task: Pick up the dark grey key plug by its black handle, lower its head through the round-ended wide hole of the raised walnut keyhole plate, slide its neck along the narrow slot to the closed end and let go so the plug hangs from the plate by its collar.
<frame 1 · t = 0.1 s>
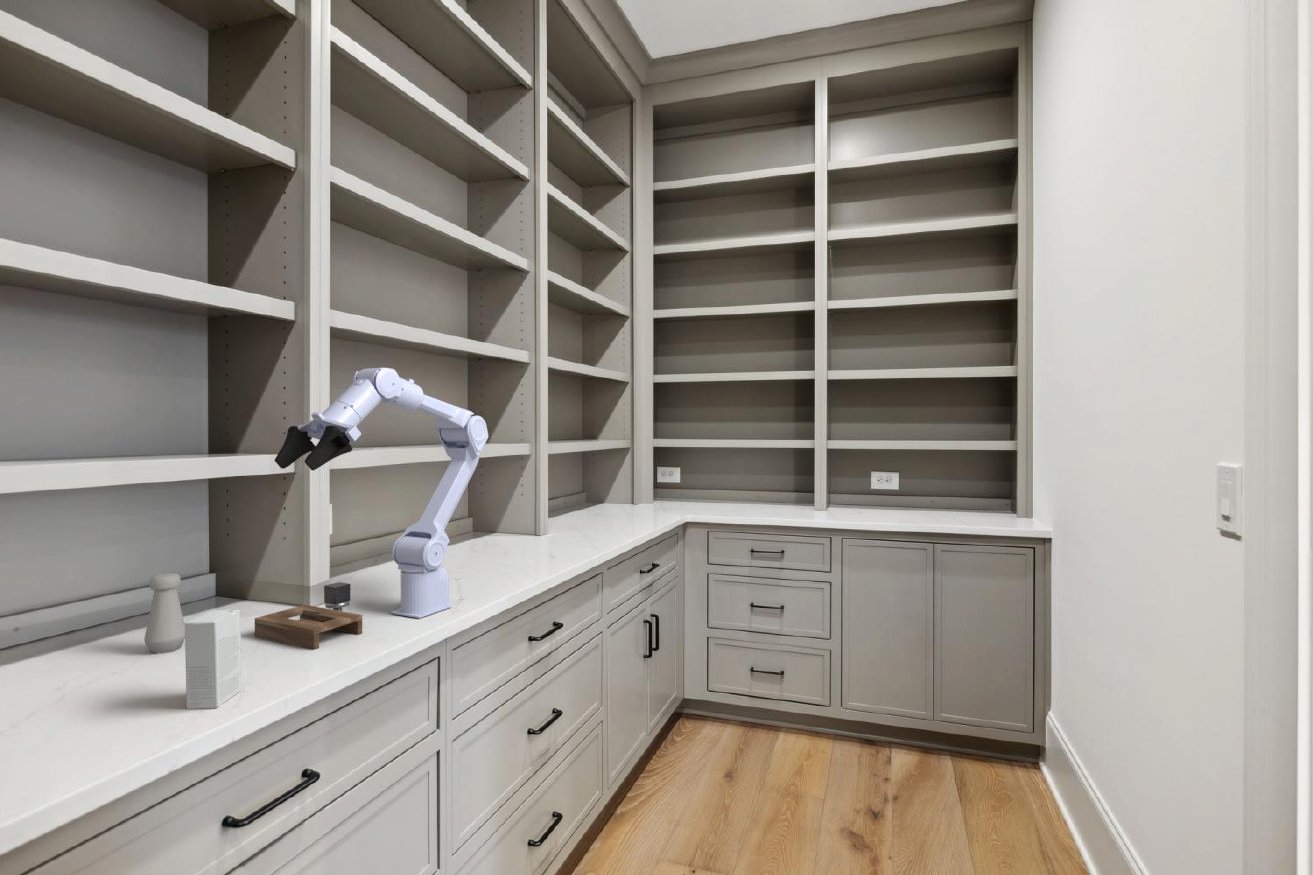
hand: (293, 465, 109), 32 cm above the counter, tool tilted 50°, fingers open, 7 cm apart
dark grey key plug: (337, 617, 131), on the counter
salt shaker: (165, 650, 111), on the counter
keyhole plate: (312, 635, 119), on the counter
skincare box: (214, 701, 91), on the counter
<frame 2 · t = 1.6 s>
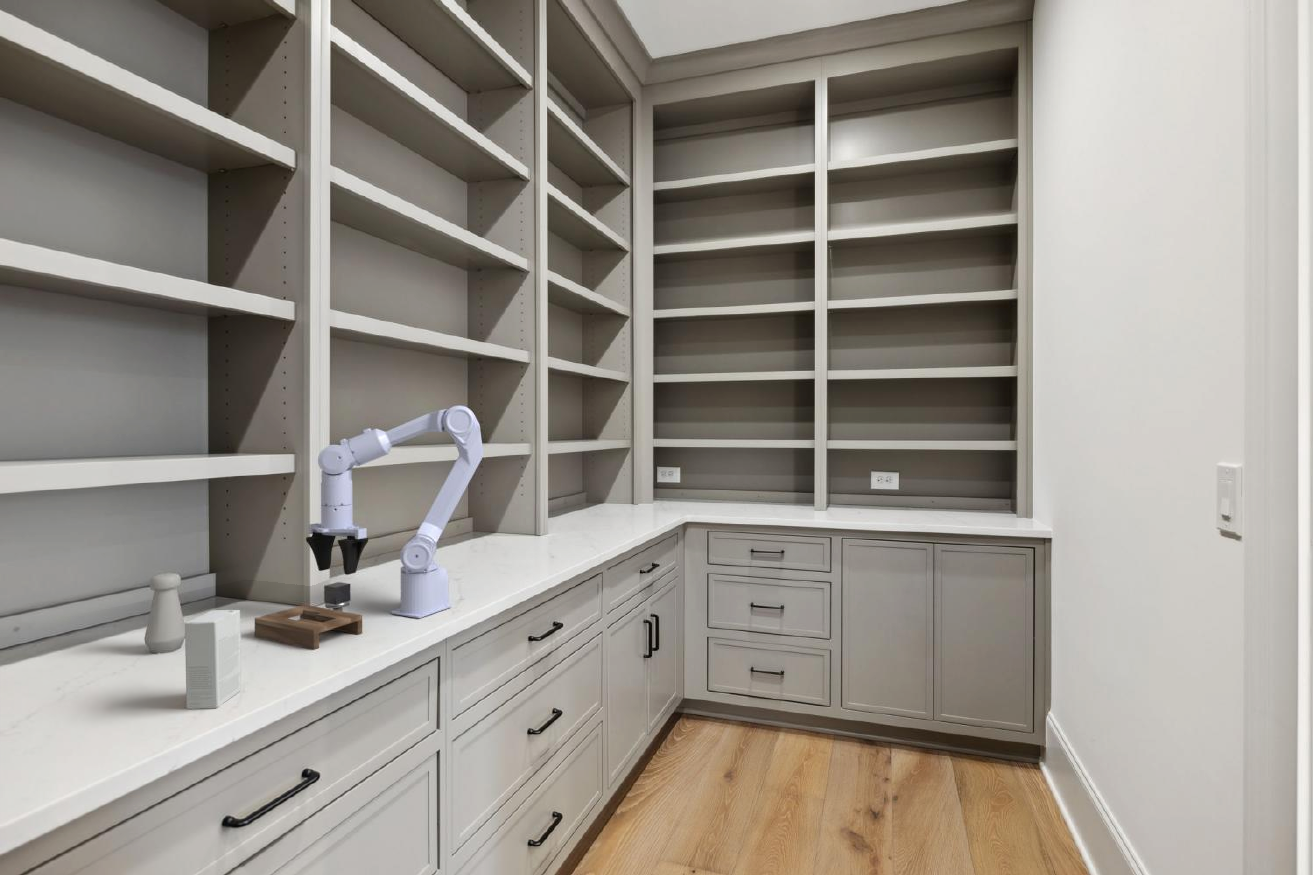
hand: (337, 571, 131), 9 cm above the counter, tool pointing down, fingers open, 7 cm apart
nothing on the counter moved.
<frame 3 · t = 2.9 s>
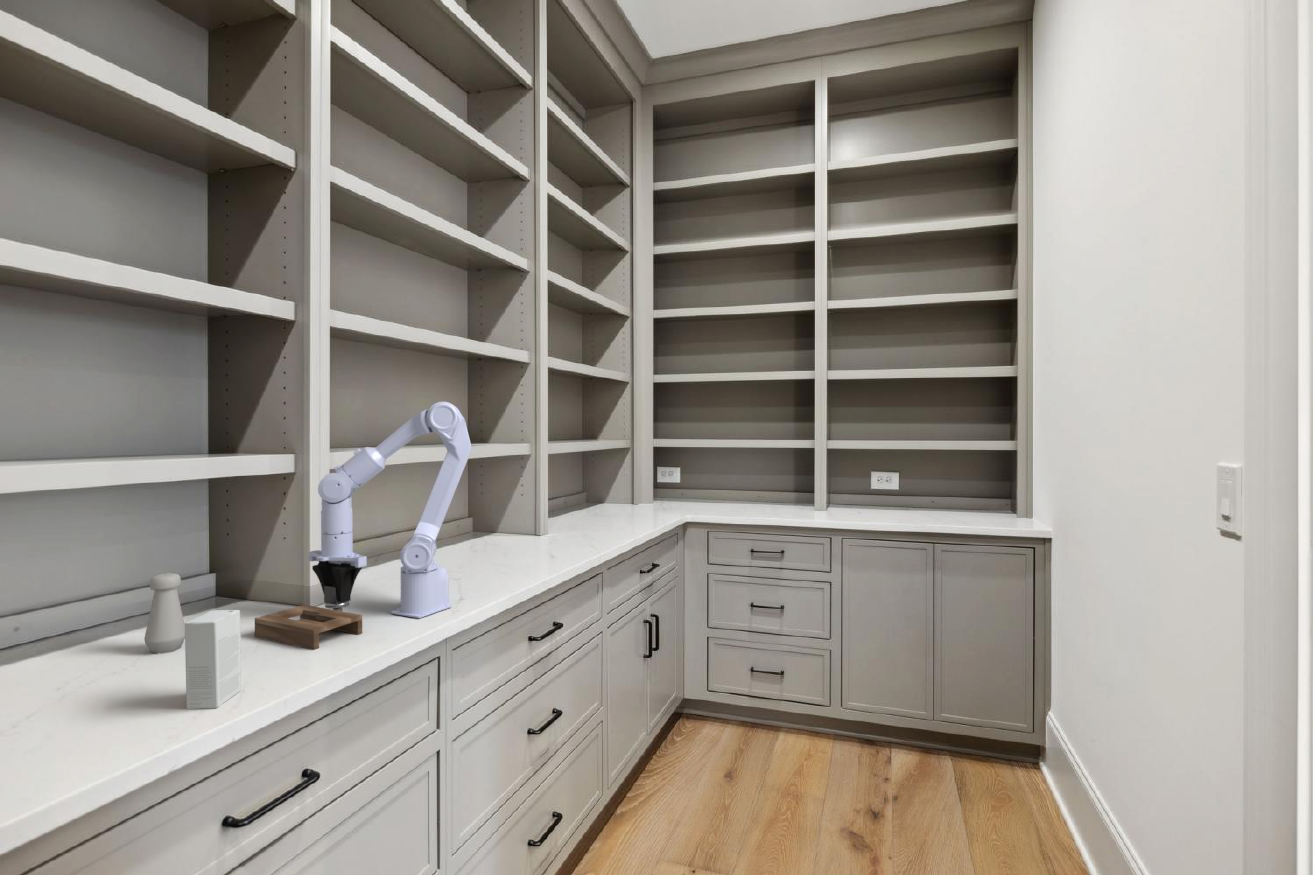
hand: (337, 599, 131), 4 cm above the counter, tool pointing down, fingers closed on dark grey key plug, 3 cm apart
dark grey key plug: (337, 617, 131), on the counter, touching gripper
everything else where it was.
when the fingers open (5 cm above the counter, at t = 8.4 s): dark grey key plug stays where it is, resting on keyhole plate.
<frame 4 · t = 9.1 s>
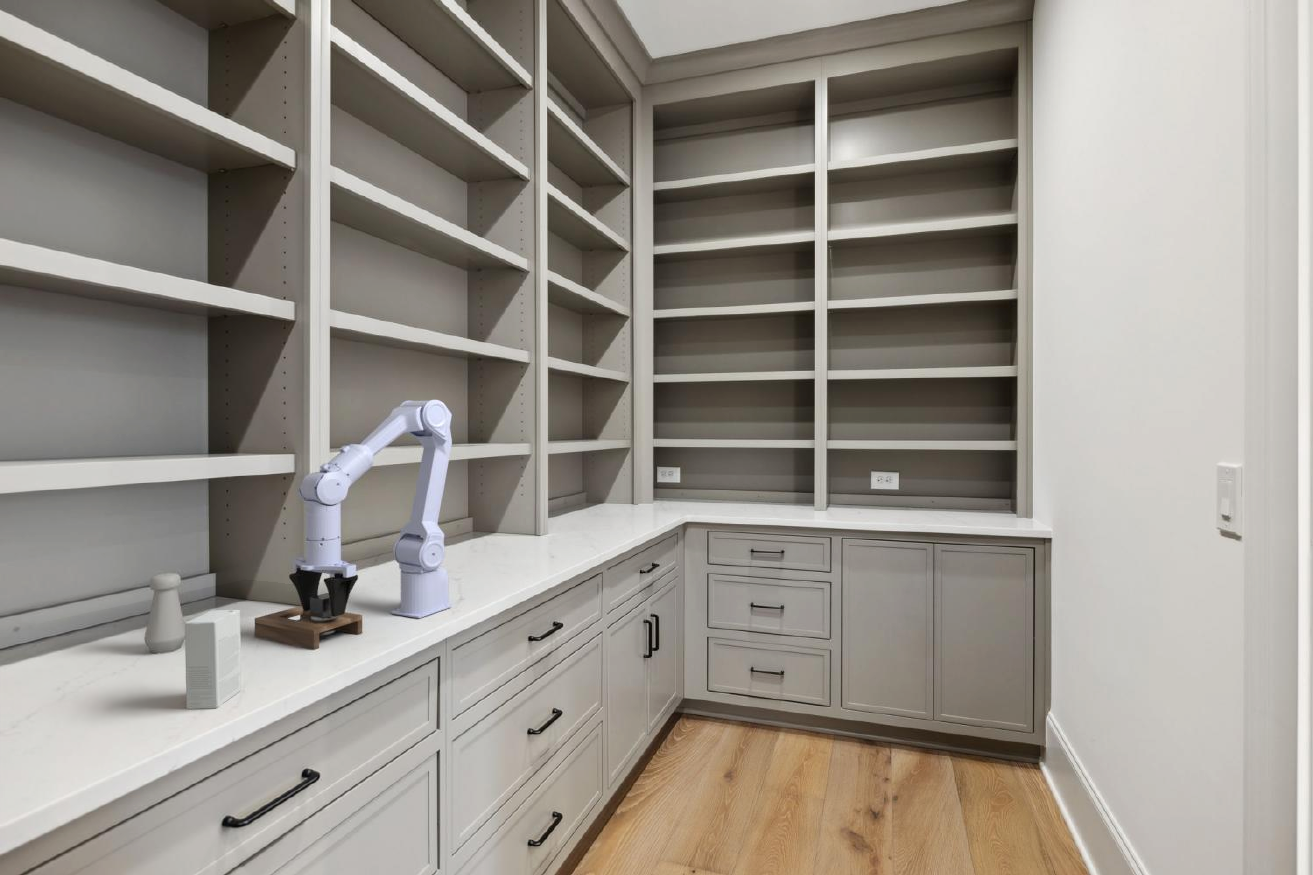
hand: (323, 612, 118), 5 cm above the counter, tool pointing down, fingers open, 7 cm apart
dark grey key plug: (324, 632, 118), point 1 cm above the counter, touching keyhole plate
everything else where it was.
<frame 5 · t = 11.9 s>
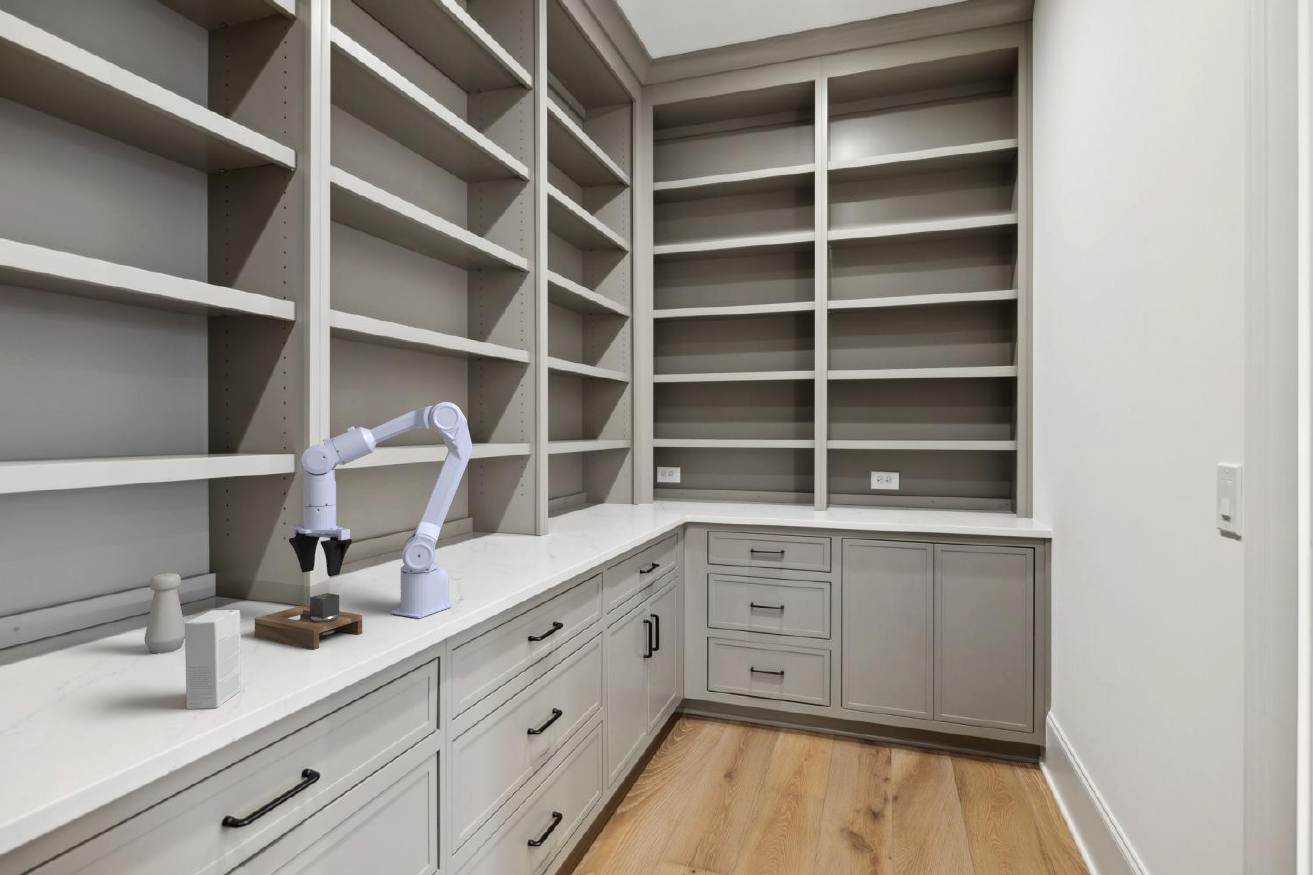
hand: (320, 573, 128), 9 cm above the counter, tool pointing down, fingers open, 7 cm apart
nothing on the counter moved.
at the end: dark grey key plug 0.2 cm from the target spot on the keyhole plate, point 1.0 cm above the keyhole plate's base; dark grey key plug tilted 0°; the gripper is holding nothing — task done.
